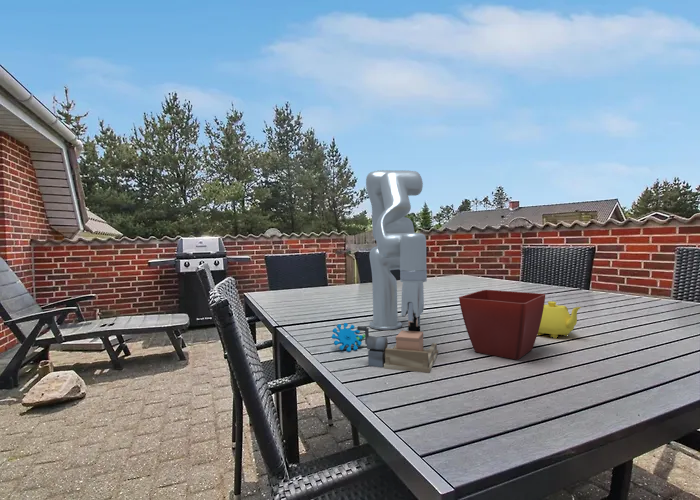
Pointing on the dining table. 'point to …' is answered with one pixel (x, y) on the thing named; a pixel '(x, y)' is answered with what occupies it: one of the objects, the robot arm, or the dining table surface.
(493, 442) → the dining table surface
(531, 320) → the plant pot
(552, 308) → the teapot
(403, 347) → the pink-tan cube
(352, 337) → the gear
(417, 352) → the bay
